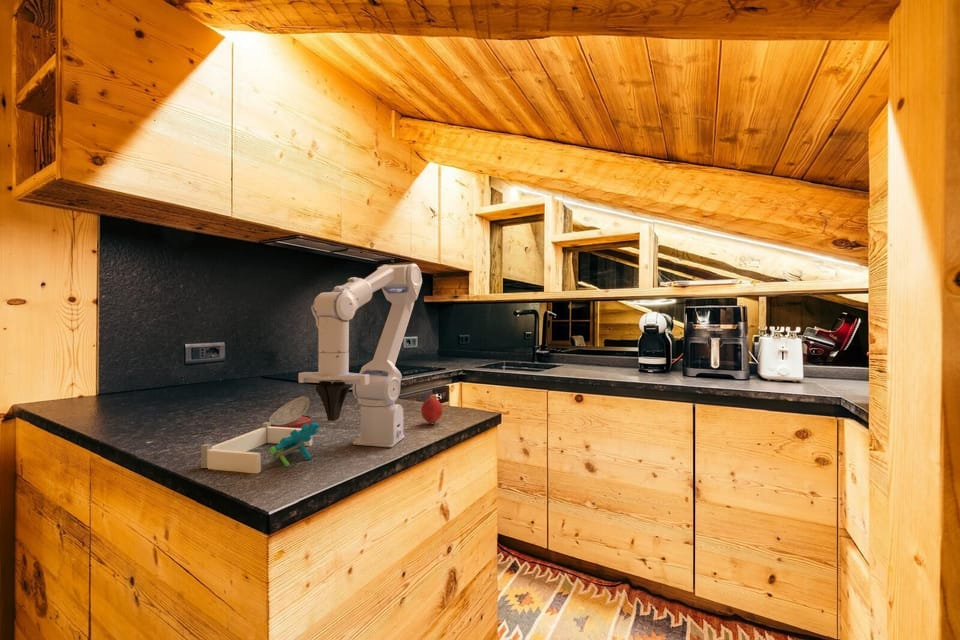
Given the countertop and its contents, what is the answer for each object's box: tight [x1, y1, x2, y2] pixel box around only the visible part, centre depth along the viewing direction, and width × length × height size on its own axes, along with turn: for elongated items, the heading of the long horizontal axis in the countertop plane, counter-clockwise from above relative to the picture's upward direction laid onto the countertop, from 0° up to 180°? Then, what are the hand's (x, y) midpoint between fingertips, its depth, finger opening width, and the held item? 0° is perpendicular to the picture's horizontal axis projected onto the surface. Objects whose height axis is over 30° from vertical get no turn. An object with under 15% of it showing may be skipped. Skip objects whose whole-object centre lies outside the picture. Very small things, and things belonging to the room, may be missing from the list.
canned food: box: [268, 395, 312, 429], centre depth 102 cm, size 11×10×10 cm
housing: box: [200, 421, 313, 475], centre depth 84 cm, size 12×17×4 cm
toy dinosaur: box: [268, 421, 320, 468], centre depth 82 cm, size 11×6×10 cm
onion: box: [420, 394, 444, 424], centre depth 109 cm, size 6×6×8 cm
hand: (333, 419), depth 81 cm, fingers closed
